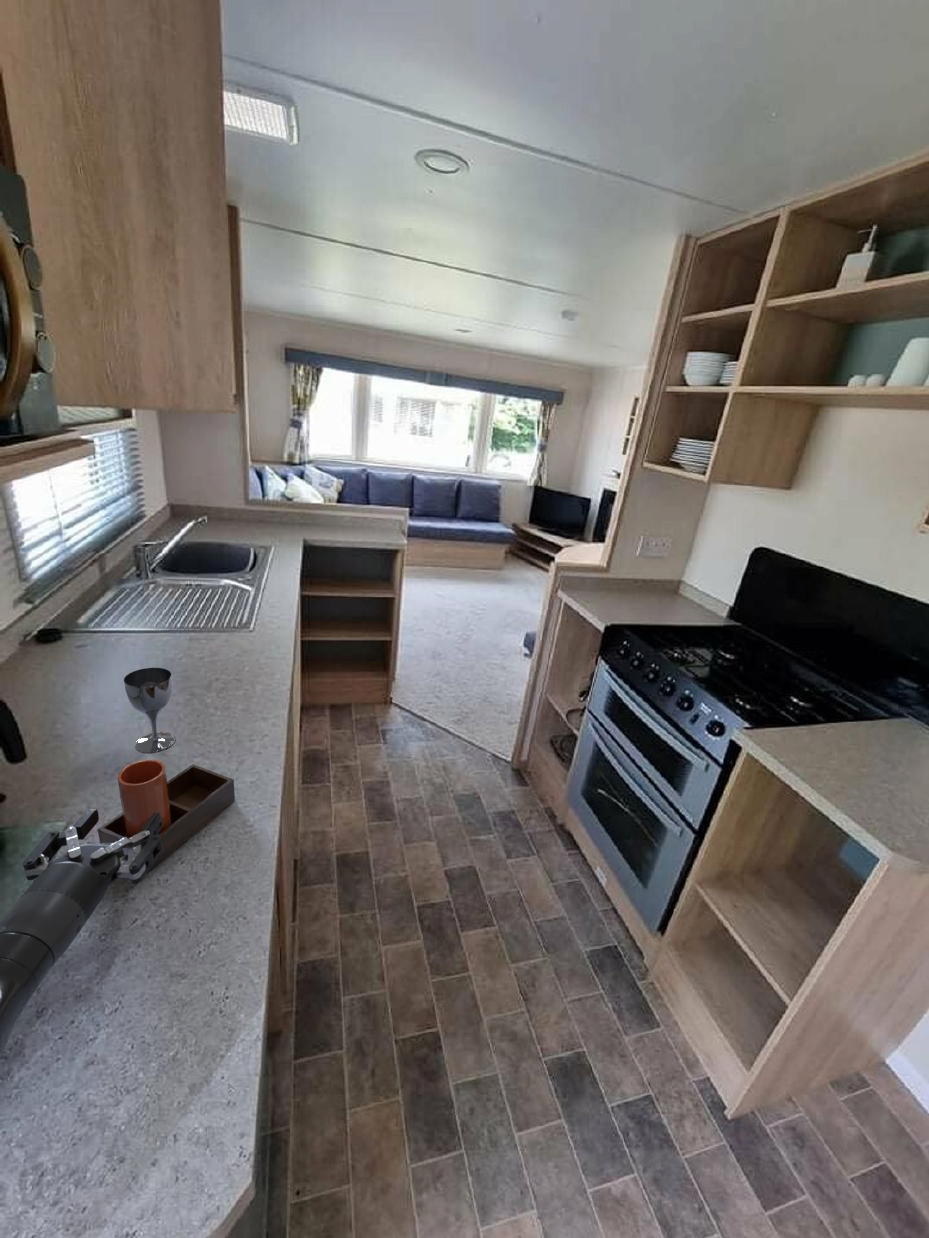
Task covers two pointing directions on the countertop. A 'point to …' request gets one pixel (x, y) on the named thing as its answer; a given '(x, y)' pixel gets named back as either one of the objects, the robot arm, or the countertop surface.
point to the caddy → (182, 809)
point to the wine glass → (150, 702)
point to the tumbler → (143, 795)
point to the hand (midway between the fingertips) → (126, 815)
